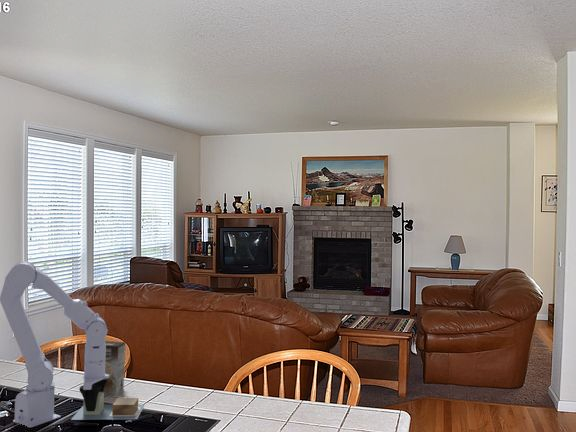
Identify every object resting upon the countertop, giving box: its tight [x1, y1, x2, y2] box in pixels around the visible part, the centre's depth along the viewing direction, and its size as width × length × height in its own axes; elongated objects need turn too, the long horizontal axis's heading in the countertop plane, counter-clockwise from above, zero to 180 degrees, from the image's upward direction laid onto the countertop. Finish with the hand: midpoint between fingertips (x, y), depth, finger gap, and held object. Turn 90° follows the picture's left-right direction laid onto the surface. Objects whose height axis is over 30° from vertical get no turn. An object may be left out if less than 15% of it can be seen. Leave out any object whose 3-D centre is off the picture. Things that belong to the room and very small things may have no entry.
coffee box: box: [103, 340, 126, 396], centre depth 169 cm, size 9×6×16 cm
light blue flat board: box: [70, 403, 146, 421], centre depth 151 cm, size 18×12×1 cm, turn 95°
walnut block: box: [112, 397, 139, 415], centre depth 151 cm, size 6×6×3 cm
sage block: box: [82, 392, 105, 415], centre depth 151 cm, size 4×4×5 cm
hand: (93, 407), depth 151 cm, fingers open, 5 cm apart
